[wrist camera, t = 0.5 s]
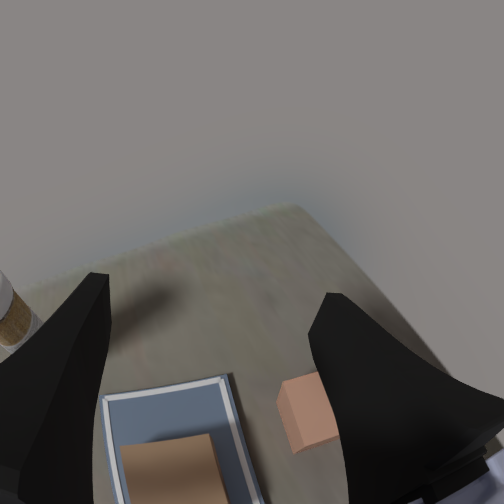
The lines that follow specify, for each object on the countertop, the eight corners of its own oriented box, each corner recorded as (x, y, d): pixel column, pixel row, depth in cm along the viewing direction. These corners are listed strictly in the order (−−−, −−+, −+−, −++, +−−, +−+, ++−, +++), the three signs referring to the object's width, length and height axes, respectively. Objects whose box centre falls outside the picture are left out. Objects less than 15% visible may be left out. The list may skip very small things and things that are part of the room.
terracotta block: (348, 435, 24) (371, 421, 19) (293, 454, 23) (305, 446, 18) (329, 386, 27) (347, 361, 22) (276, 402, 26) (282, 381, 21)
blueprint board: (284, 561, 16) (285, 562, 16) (140, 578, 14) (137, 580, 13) (226, 376, 27) (226, 373, 27) (101, 397, 25) (98, 395, 25)
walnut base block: (234, 515, 19) (232, 519, 16) (149, 526, 17) (137, 529, 15) (212, 438, 23) (208, 433, 21) (132, 450, 22) (119, 445, 20)
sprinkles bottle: (49, 340, 29) (-21, 258, 19) (81, 352, 28) (10, 268, 18) (33, 376, 26) (-49, 305, 16) (66, 391, 25) (-20, 322, 15)
